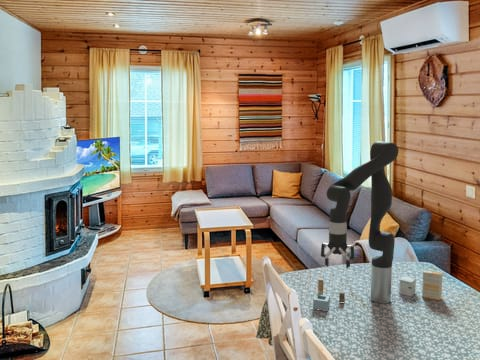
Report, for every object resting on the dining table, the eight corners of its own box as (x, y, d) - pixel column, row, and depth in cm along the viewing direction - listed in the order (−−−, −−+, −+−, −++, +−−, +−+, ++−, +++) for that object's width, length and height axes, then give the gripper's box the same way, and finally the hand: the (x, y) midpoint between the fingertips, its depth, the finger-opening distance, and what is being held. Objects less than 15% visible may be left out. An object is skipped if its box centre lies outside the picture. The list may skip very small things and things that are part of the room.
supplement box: (441, 297, 214) (443, 271, 212) (440, 301, 210) (441, 274, 208) (423, 294, 218) (424, 268, 216) (421, 297, 214) (422, 271, 212)
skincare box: (398, 293, 219) (399, 279, 218) (403, 289, 224) (403, 275, 222) (411, 296, 215) (411, 282, 214) (415, 292, 220) (416, 278, 219)
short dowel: (339, 301, 211) (339, 292, 211) (344, 301, 211) (344, 292, 210) (338, 303, 209) (339, 294, 208) (344, 303, 208) (344, 294, 208)
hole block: (315, 304, 208) (315, 293, 208) (329, 306, 206) (329, 295, 205) (313, 309, 202) (313, 299, 202) (327, 311, 200) (327, 301, 199)
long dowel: (318, 298, 215) (318, 278, 213) (323, 298, 214) (323, 279, 212) (317, 300, 213) (317, 280, 211) (322, 300, 212) (322, 280, 210)
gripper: (355, 230, 195) (354, 265, 197) (322, 228, 199) (322, 262, 202) (354, 234, 188) (353, 271, 190) (320, 232, 192) (319, 268, 195)
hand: (337, 266), depth 196 cm, fingers open, 8 cm apart
